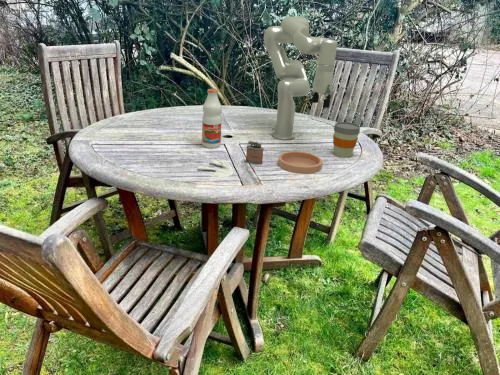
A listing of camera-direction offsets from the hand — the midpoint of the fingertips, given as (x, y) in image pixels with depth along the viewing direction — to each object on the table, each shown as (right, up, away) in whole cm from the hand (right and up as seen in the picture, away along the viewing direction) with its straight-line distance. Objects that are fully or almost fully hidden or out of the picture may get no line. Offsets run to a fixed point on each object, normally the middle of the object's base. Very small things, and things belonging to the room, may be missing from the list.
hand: (320, 105), depth 193 cm
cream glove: (-49, -31, -14) cm, 60 cm away
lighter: (-32, -28, -6) cm, 43 cm away
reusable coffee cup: (+13, -23, +12) cm, 29 cm away
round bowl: (-10, -29, -5) cm, 31 cm away
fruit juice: (-53, -18, +12) cm, 57 cm away
